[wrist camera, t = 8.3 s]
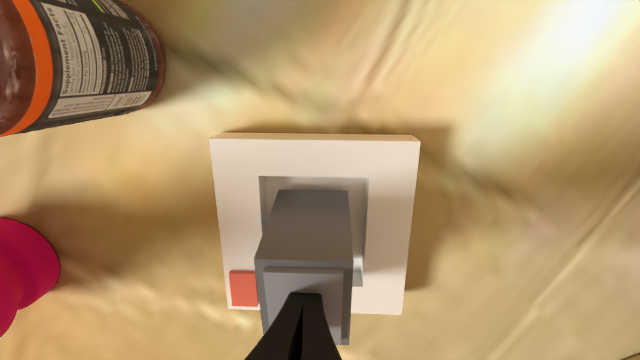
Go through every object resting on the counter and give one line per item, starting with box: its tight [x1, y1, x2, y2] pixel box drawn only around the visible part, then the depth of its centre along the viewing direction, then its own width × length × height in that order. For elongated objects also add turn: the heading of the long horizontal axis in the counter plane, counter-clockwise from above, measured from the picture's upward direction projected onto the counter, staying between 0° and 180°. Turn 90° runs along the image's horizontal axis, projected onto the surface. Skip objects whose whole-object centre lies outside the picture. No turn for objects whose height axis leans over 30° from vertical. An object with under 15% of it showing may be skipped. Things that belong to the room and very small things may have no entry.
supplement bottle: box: [0, 0, 165, 137], centre depth 11 cm, size 6×6×11 cm
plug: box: [254, 190, 354, 345], centre depth 16 cm, size 4×5×6 cm
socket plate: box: [209, 132, 421, 315], centre depth 18 cm, size 11×11×2 cm
